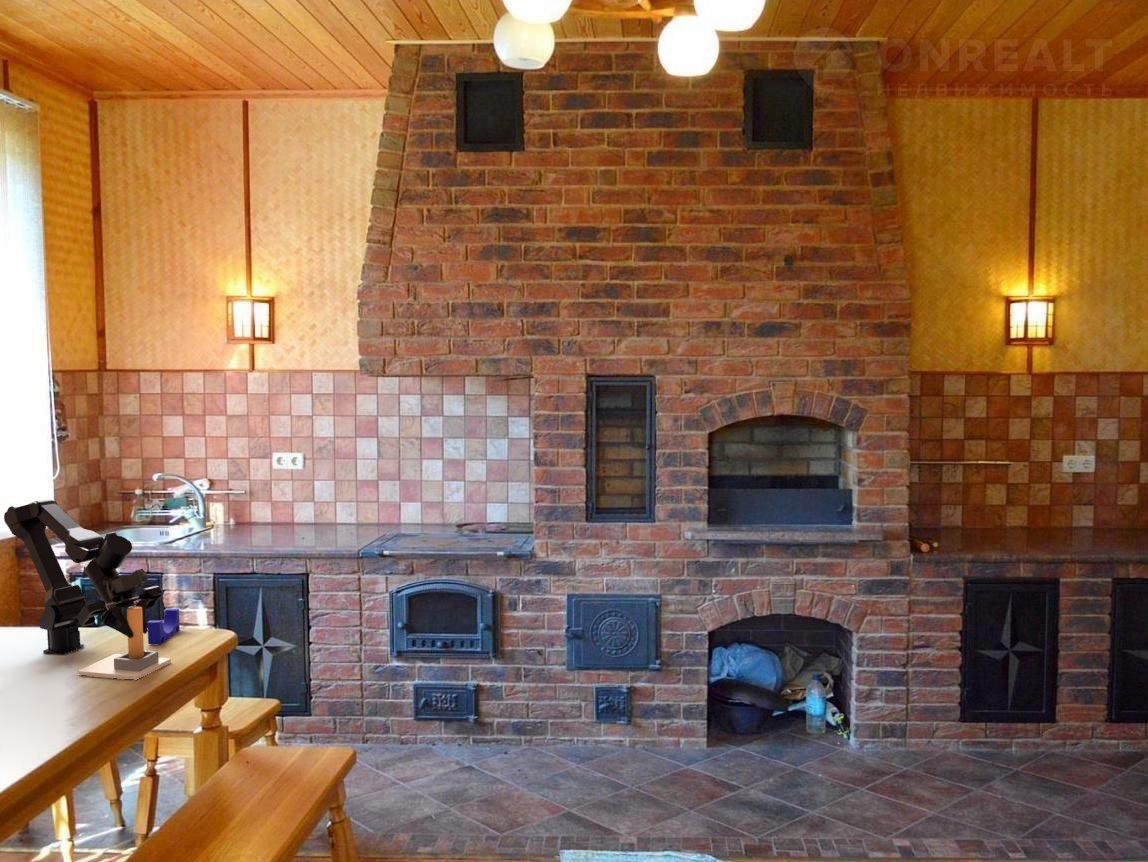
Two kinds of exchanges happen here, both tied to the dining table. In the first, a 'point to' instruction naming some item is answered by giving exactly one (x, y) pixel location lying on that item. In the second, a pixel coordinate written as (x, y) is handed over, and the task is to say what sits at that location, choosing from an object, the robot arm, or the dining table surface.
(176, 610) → the cable clip
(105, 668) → the keeper plate
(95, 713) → the dining table surface
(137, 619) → the toggle bar
